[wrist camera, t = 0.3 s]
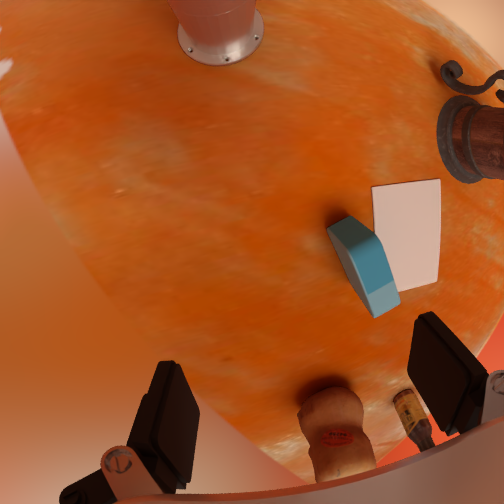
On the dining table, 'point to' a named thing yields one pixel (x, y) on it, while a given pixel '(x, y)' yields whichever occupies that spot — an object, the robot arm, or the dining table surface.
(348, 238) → the data package
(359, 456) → the butternut squash
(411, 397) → the sauce bottle
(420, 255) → the mat
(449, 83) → the tankard
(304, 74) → the dining table surface
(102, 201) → the dining table surface
